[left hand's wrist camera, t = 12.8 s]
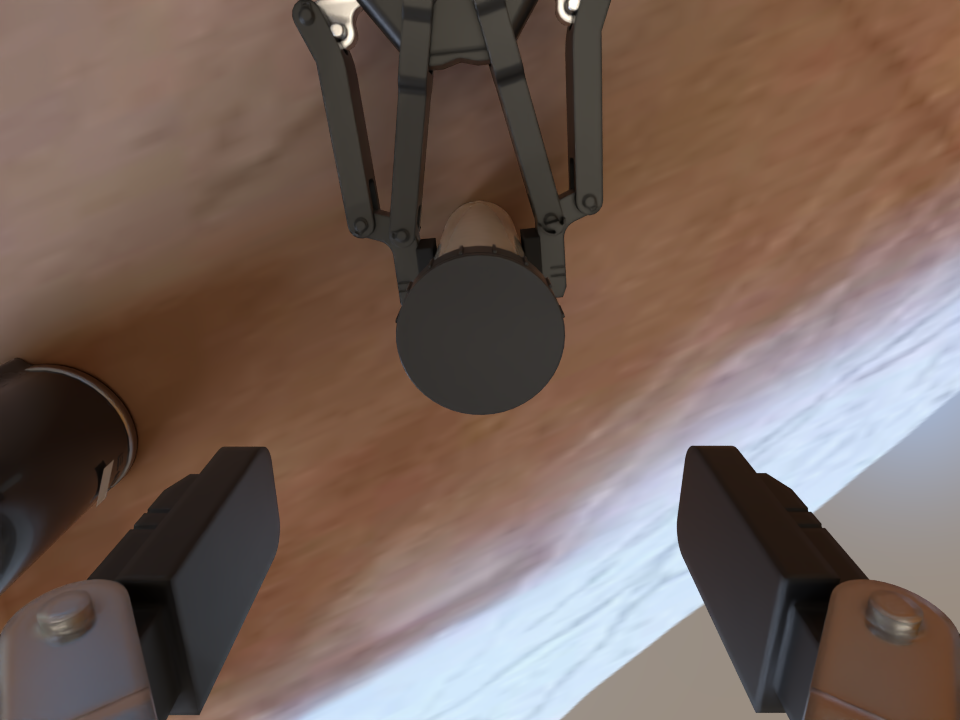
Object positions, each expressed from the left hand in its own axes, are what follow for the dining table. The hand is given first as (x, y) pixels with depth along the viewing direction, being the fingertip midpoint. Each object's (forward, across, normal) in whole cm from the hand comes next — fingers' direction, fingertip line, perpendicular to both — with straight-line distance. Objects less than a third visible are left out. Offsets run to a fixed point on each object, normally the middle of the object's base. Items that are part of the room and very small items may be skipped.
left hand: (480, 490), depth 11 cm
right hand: (+20, 0, -5) cm, 21 cm away
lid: (+9, 0, 0) cm, 9 cm away
